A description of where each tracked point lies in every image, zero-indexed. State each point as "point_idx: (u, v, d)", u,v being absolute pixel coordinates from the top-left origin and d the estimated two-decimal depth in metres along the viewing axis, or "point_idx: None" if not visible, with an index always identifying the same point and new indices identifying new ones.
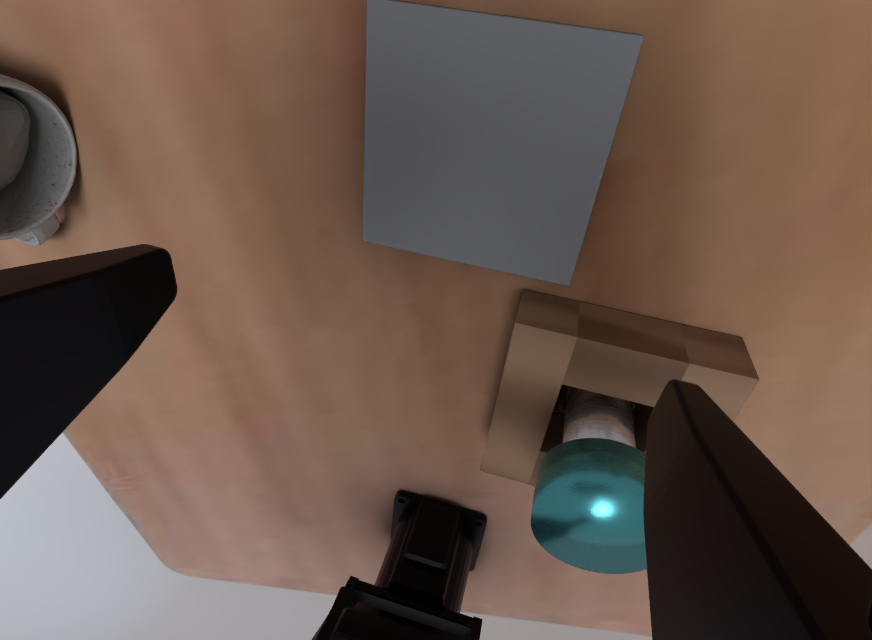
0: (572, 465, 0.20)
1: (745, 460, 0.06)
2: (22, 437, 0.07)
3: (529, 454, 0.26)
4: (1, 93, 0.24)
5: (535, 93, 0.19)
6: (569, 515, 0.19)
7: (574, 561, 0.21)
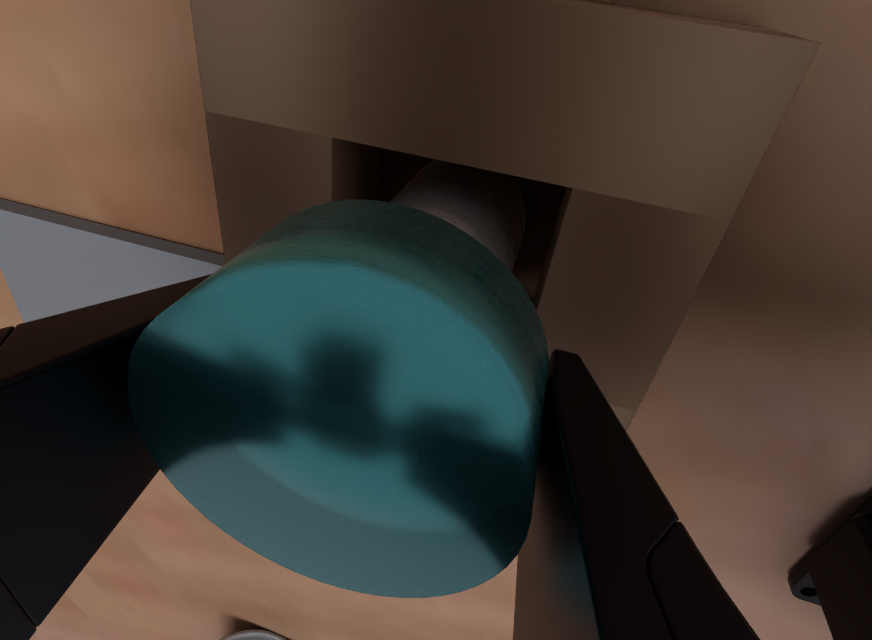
0: None
1: (592, 419, 0.06)
2: (130, 473, 0.07)
3: None
4: None
5: (61, 300, 0.18)
6: (282, 520, 0.07)
7: (490, 547, 0.06)
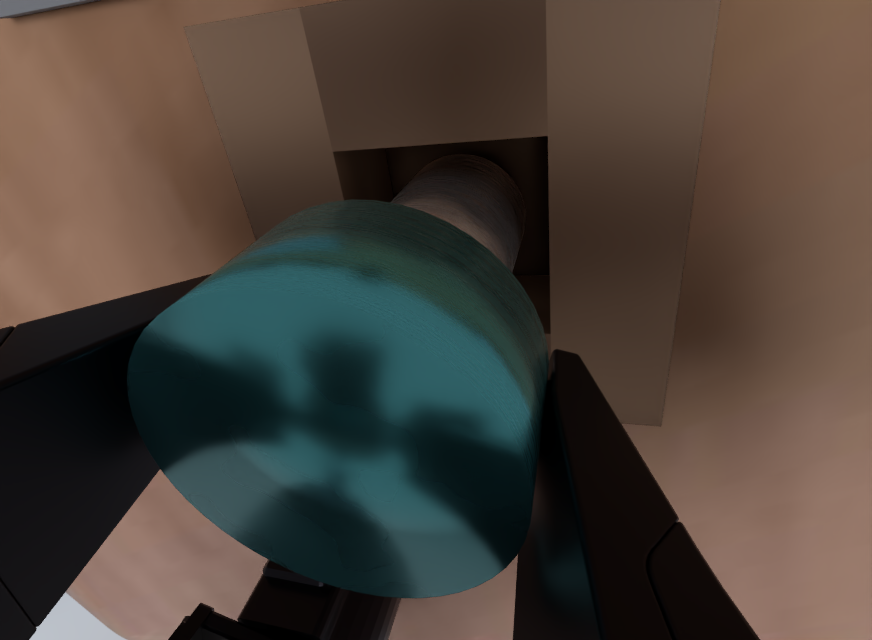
0: None
1: (592, 419, 0.06)
2: (131, 473, 0.07)
3: None
4: None
5: None
6: (281, 520, 0.07)
7: (489, 547, 0.06)
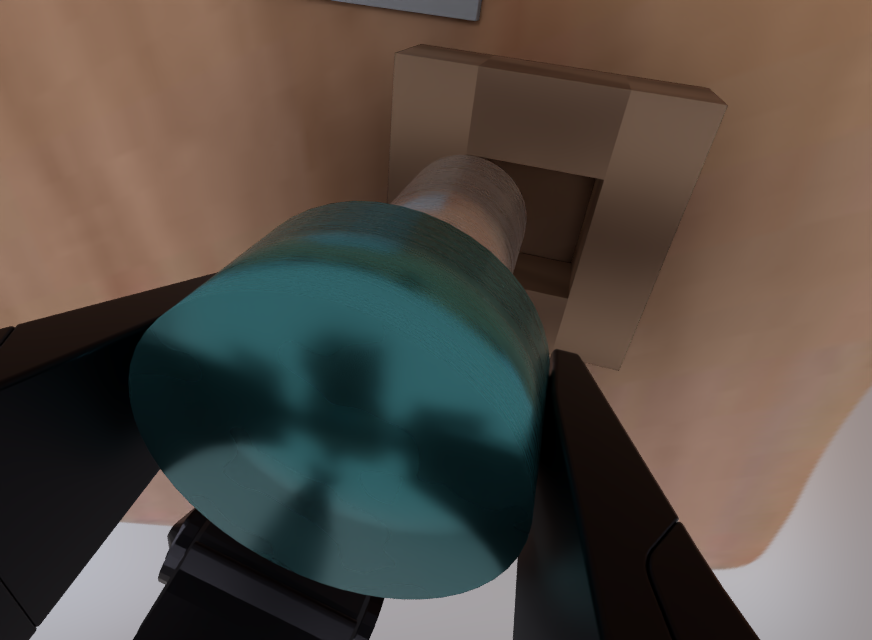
0: None
1: (592, 418, 0.06)
2: (130, 473, 0.07)
3: None
4: None
5: None
6: (282, 521, 0.07)
7: (491, 548, 0.06)
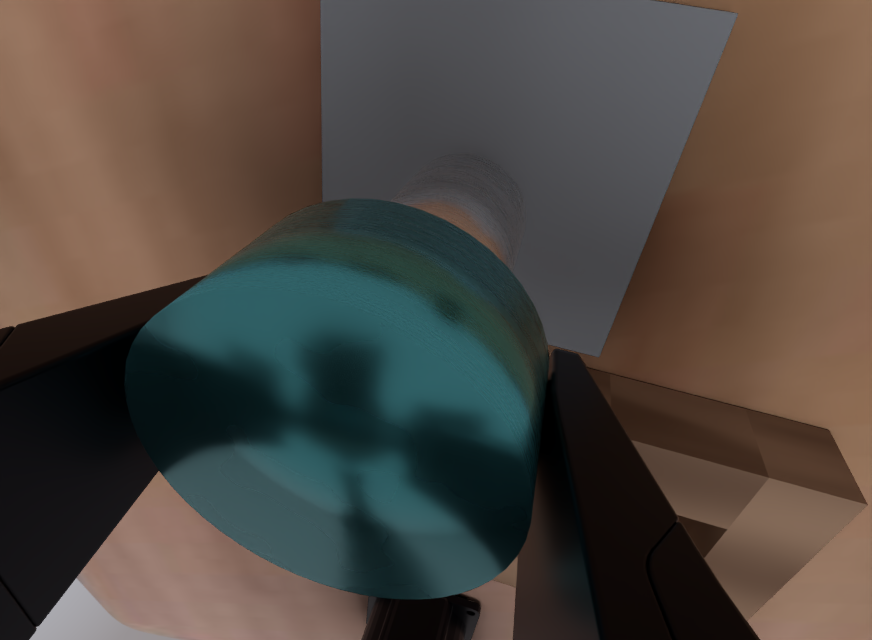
0: None
1: (592, 419, 0.06)
2: (130, 473, 0.07)
3: None
4: None
5: (566, 96, 0.13)
6: (280, 521, 0.07)
7: (490, 549, 0.06)
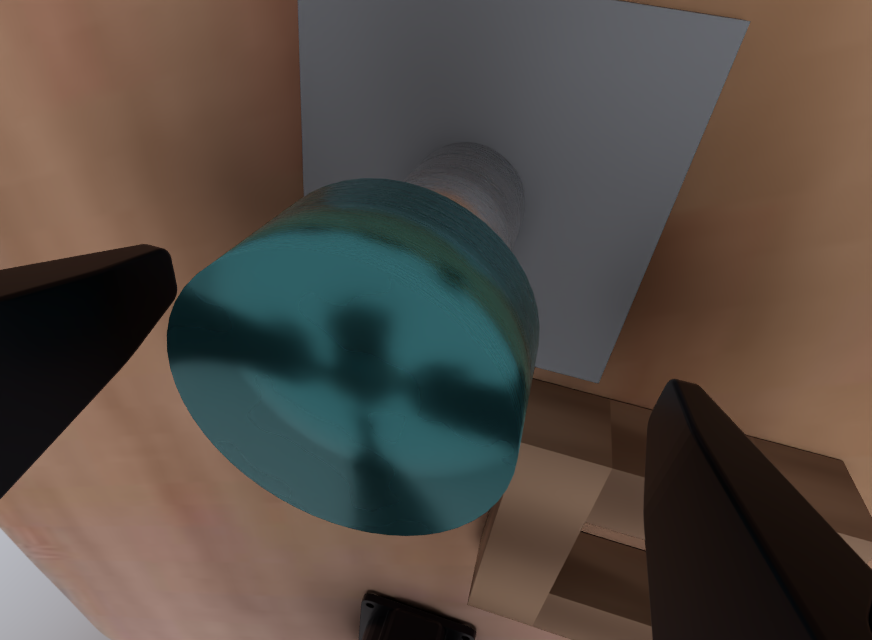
0: None
1: (745, 460, 0.06)
2: (22, 437, 0.07)
3: (534, 595, 0.19)
4: None
5: (562, 110, 0.12)
6: (299, 463, 0.08)
7: (483, 483, 0.07)
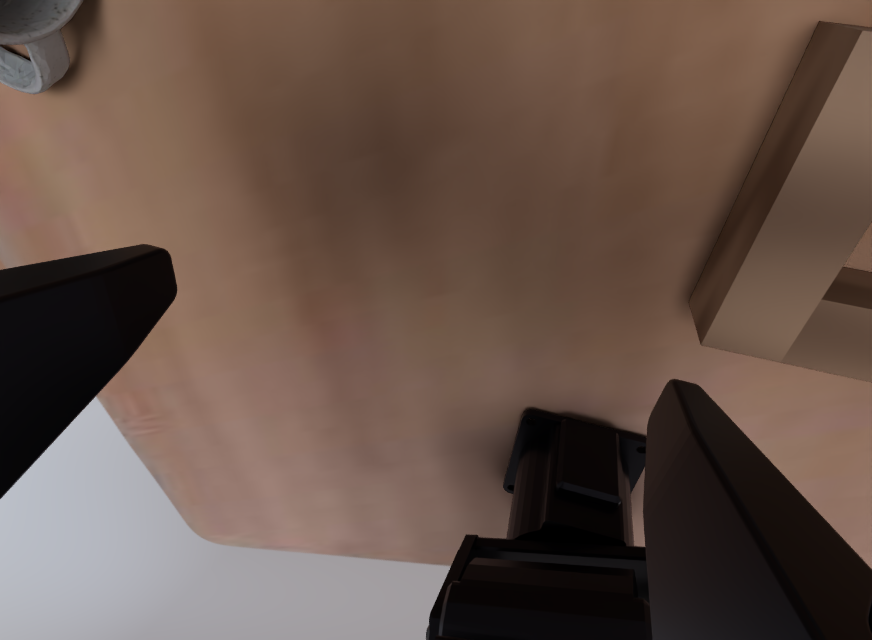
0: None
1: (745, 460, 0.06)
2: (22, 437, 0.07)
3: (799, 308, 0.17)
4: None
5: None
6: None
7: None
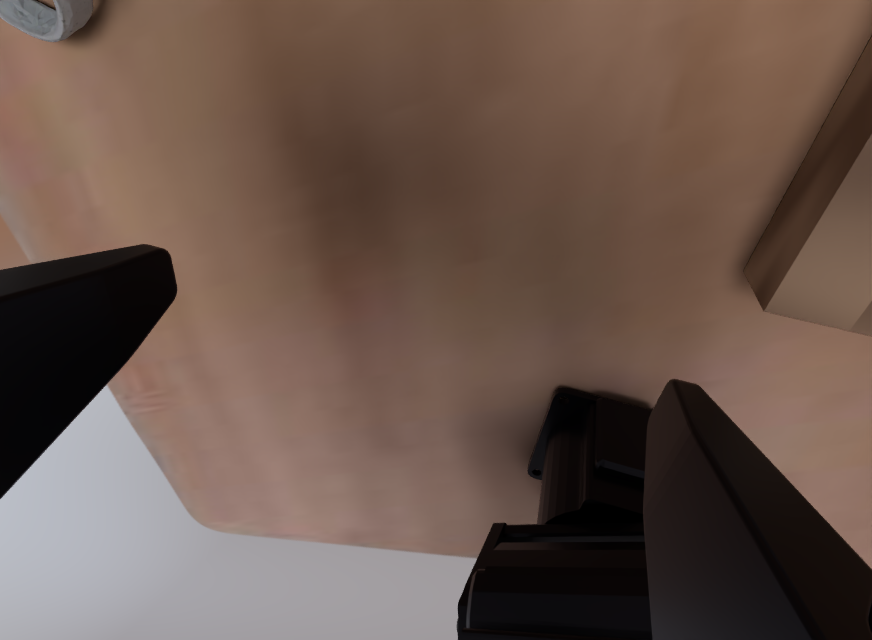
0: None
1: (745, 460, 0.06)
2: (22, 437, 0.07)
3: None
4: None
5: None
6: None
7: None
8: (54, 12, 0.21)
